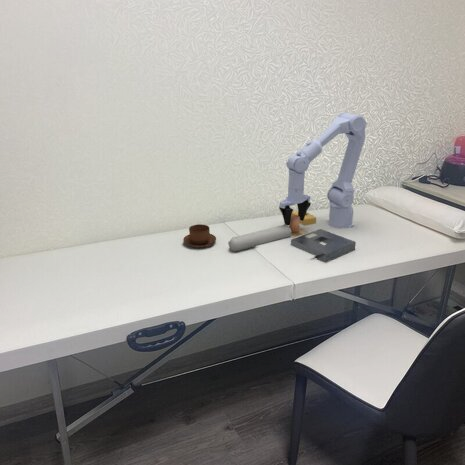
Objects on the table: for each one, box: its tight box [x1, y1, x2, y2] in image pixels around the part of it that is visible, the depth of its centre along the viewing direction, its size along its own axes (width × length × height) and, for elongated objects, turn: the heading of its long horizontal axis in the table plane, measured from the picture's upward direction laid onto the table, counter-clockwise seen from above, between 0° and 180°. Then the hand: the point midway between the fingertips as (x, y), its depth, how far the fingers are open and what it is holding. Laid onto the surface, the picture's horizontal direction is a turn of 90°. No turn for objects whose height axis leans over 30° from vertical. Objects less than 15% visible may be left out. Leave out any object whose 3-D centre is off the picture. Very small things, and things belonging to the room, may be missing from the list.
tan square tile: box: [290, 228, 309, 238], centre depth 167 cm, size 8×8×1 cm
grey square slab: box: [290, 228, 357, 263], centre depth 154 cm, size 16×16×3 cm
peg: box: [288, 215, 301, 233], centre depth 166 cm, size 4×4×6 cm
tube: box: [227, 223, 292, 252], centre depth 158 cm, size 5×5×25 cm
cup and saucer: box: [182, 224, 217, 248], centre depth 159 cm, size 12×12×6 cm
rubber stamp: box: [292, 194, 317, 226], centre depth 177 cm, size 10×6×12 cm, turn 26°
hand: (294, 222), depth 166 cm, fingers open, 7 cm apart
